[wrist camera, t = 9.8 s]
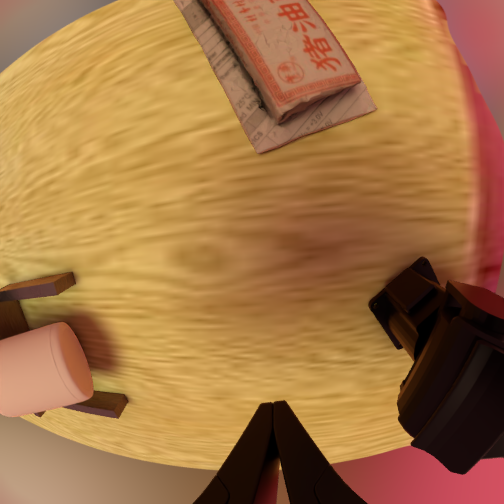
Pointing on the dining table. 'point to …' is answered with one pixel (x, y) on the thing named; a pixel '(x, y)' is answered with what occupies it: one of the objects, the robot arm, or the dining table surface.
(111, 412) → the dark wooden frame
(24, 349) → the pill bottle
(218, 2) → the packaged product
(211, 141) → the dining table surface
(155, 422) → the dining table surface
